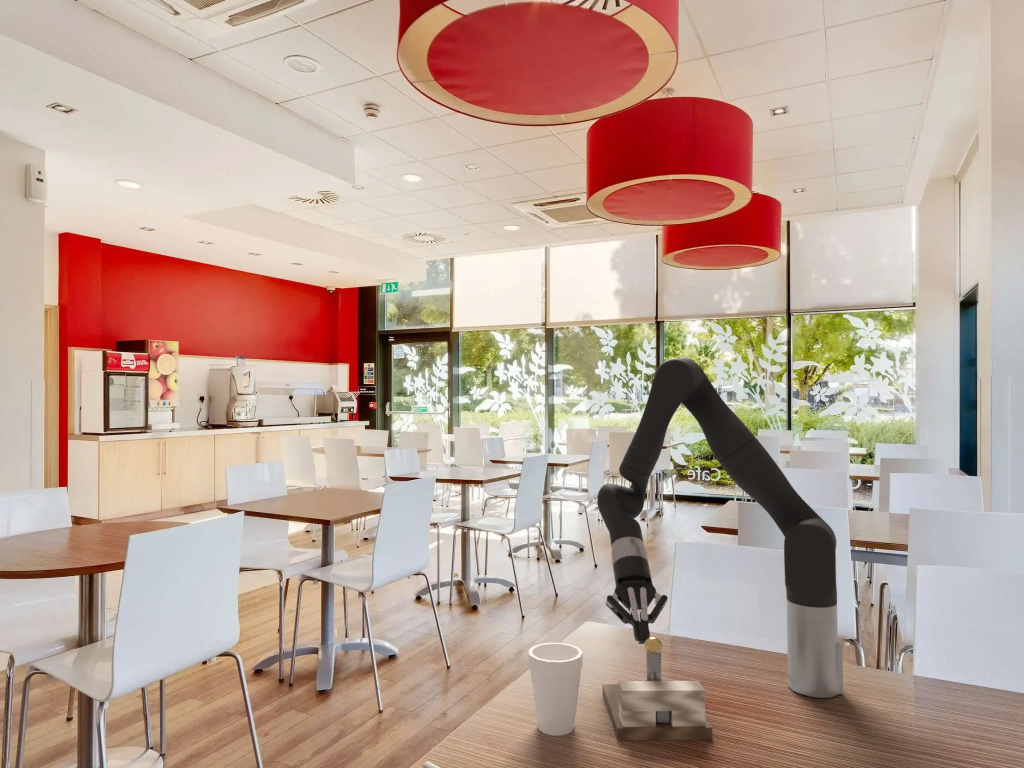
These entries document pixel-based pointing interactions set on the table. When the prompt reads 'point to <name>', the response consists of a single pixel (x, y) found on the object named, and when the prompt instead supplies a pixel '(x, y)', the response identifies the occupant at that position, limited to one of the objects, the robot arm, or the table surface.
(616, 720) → the board
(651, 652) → the gold knob lever
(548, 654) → the foam cup
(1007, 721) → the table surface
